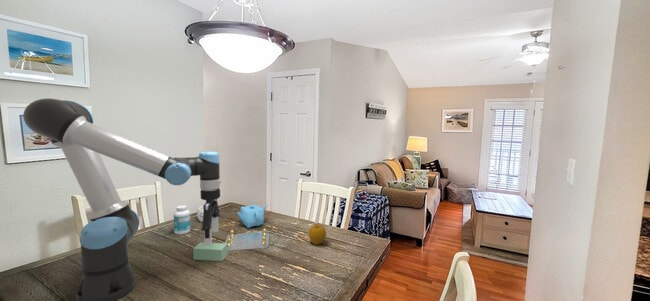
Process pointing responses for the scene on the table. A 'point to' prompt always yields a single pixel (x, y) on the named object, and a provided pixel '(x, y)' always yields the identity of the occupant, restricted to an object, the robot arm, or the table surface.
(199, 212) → the mug
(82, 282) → the robot arm
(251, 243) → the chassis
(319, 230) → the apple
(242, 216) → the teapot
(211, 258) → the pale green block
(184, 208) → the pill bottle
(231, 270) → the table surface
